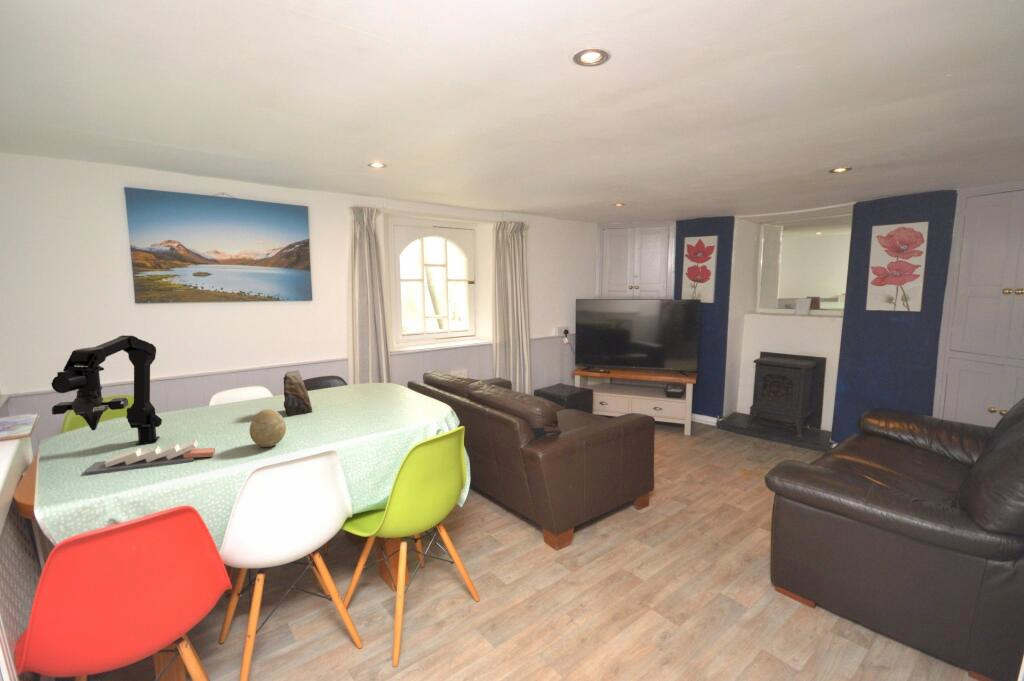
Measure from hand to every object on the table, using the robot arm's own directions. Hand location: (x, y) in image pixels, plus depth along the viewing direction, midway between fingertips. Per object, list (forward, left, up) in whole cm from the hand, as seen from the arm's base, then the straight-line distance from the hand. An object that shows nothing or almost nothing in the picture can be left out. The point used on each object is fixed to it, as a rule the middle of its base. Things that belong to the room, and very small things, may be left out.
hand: (94, 429), depth 158 cm
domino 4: (+3, +21, -11) cm, 24 cm away
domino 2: (+3, +9, -11) cm, 15 cm away
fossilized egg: (+1, +53, -13) cm, 55 cm away
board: (+3, +14, -13) cm, 19 cm away
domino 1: (+3, +4, -11) cm, 12 cm away
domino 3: (+3, +15, -11) cm, 19 cm away
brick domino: (+4, +26, -11) cm, 29 cm away
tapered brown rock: (-43, +64, -13) cm, 78 cm away
